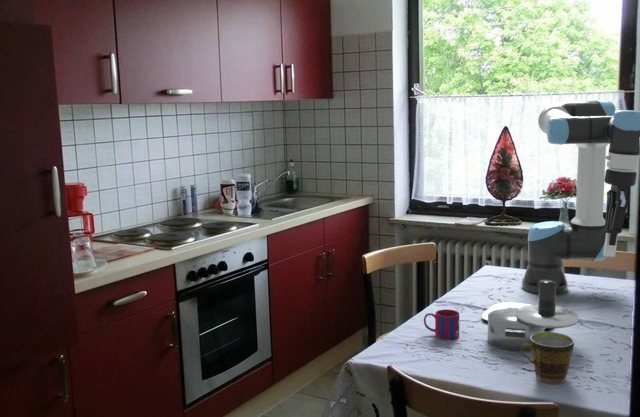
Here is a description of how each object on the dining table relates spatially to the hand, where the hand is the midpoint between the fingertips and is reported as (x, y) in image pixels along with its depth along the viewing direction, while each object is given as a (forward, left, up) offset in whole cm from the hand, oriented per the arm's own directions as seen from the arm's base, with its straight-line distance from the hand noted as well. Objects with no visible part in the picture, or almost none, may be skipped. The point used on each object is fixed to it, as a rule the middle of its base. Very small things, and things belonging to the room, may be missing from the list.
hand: (609, 255), depth 180 cm
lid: (+4, -17, -17) cm, 24 cm away
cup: (-2, -44, -24) cm, 51 cm away
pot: (+2, -24, -24) cm, 34 cm away
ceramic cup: (+27, -21, -24) cm, 42 cm away
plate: (-18, -19, -25) cm, 36 cm away
